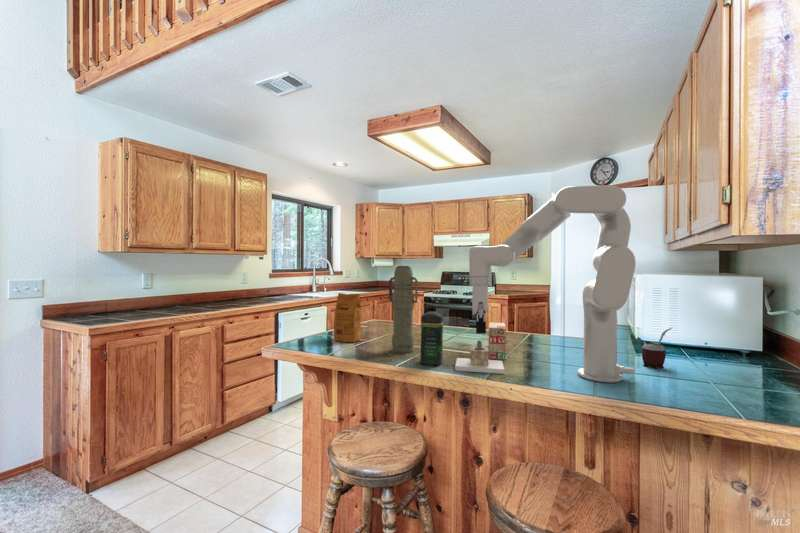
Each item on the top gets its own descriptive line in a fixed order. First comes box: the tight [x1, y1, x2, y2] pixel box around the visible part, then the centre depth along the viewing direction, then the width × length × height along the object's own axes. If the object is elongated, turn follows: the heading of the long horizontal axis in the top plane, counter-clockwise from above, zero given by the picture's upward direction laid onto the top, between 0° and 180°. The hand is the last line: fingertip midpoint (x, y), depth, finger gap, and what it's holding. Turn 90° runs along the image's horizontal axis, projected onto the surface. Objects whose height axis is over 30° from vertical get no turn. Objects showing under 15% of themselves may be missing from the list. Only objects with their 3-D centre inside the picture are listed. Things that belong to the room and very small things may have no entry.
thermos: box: [388, 265, 418, 354], centre depth 152 cm, size 9×12×35 cm
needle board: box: [454, 339, 505, 375], centre depth 129 cm, size 16×11×10 cm
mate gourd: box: [641, 327, 673, 370], centre depth 131 cm, size 8×8×15 cm
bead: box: [469, 346, 489, 366], centre depth 129 cm, size 6×6×5 cm
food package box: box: [488, 321, 507, 361], centre depth 150 cm, size 21×6×12 cm, turn 166°
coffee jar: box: [419, 310, 444, 366], centre depth 135 cm, size 10×8×19 cm
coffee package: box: [333, 292, 362, 343], centre depth 171 cm, size 10×12×22 cm
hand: (481, 330), depth 129 cm, fingers open, 9 cm apart
